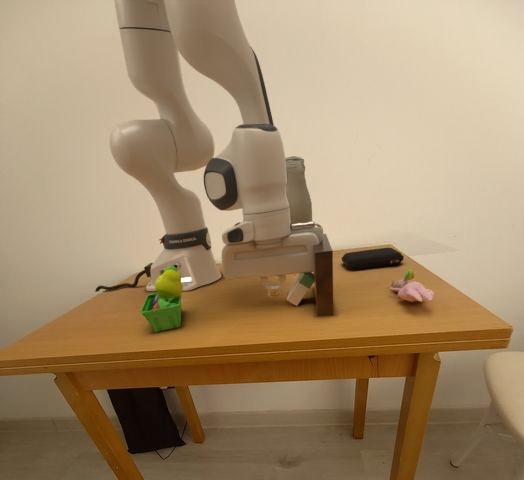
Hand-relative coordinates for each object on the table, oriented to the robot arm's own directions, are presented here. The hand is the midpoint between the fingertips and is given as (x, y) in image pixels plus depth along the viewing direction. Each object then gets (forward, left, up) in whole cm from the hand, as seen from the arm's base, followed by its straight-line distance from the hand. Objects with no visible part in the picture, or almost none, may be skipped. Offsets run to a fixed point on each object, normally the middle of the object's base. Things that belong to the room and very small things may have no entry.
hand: (275, 295), depth 63 cm
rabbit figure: (+26, -3, -2) cm, 27 cm away
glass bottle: (+4, +36, -2) cm, 37 cm away
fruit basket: (-23, -5, -2) cm, 23 cm away
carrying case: (+24, +23, -2) cm, 34 cm away
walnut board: (+10, 0, -2) cm, 10 cm away
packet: (+5, 0, -2) cm, 6 cm away
